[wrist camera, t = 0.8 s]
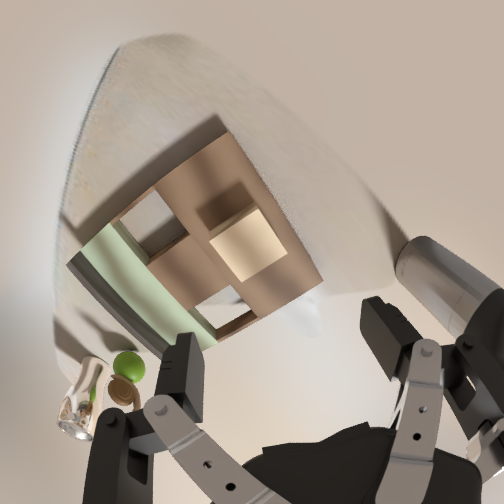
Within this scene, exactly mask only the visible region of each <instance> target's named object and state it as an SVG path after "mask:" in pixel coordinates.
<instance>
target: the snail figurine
mask: <svg viewBox="0 0 504 504" xmlns="http://www.w3.org/2000/svg"><path fill="white" fill-rule="evenodd" d="M113 369H114V373H115V374H114V375H111V377H112V378H113V379H114V380H112V381H110V383H109V385H108V393H109V395H110V397H111V398H112V400H113V401H114V402H116V403H117V404H119V405H122V406H128V405H130V404H131V403H132V402H133V405H134V409H133V411H137V410H140V407H141V403H140V395H139V392H138V389H137V388H136V387H135V385H134V383H136V382H139V381H140V380H141V379H142V378H143V376H144V374H145V364H144V362H143V360H142V359H141V357H140V356H138V355H137V354H136V353H133V352H129V351H126V352H122V353H120V354H119V355H117V357H116V358H115V360H114V363H113Z"/></svg>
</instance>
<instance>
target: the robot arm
mask: <svg viewBox="0 0 504 504" xmlns="http://www.w3.org/2000/svg"><path fill="white" fill-rule="evenodd" d="M396 277H397V279H398V281H399V282H400V283H401V284H402V285H403V286H404V287H405V288H406V289H407V290H408V291H409V292H410V293H411V294H412V295H413V296H414V297H415V298H416V299H417V300H418V301H419V302H420V303H421V304H422V305H423V306H424V307H425V308H426V309H427V310H428V311H429V312H430V313H431V314H432V315H433V316H434V317H435V318H436V319H437V320H438V321H439V322H440V323H441V324H442V325H443V326H444V328H446V330H447V331H448V332H449V333H450V334H451V335H452V336H453V337H454V338H455V339H456V342H455V344H451V345H443V346H440V345H439V344H438V343H437V342H435V341H434V340H431V339H423V337H422V336H421V335H420V334H419V333H418V331H417V330H416V329H415V328H414V327H413V326H412V324H411V323H410V322H409V321H407V318H406V317H405V316H403V314H402V313H401V312H400V310H399V309H398V308H397V307H395V306H393V305H391V304H390V303H387V304H385V303H384V302H383V301H382V299H381V298H380V297H378V296H374V297H370V298H367V299H363V301H362V308H361V318H360V330H361V333H362V336H363V337H364V339H365V340H366V342H367V344H368V346H369V347H370V349H371V350H372V352H373V354H374V355H375V357H376V359H377V360H378V362H379V363H380V365H381V367H382V369H383V370H384V372H385V374H386V375H387V377H388V379H389V380H390V382H392V381H395V380H397V379H399V381H400V382H401V383H400V386H399V390H398V394H397V398H396V402H395V406H394V409H393V413H392V417H391V420H390V422H389V425H388V427H387V428H385V427H370V426H369V424H368V422H364V423H361V424H358V425H355V426H353V427H349V428H346V429H343V430H341V431H339V432H337V433H336V434H334V435H332V436H330V437H328V438H326V439H324V440H323V441H320V442H316V443H286V444H280V445H275V446H269V447H263V448H262V450H263V454H261V455H258V456H256V457H254V458H252V459H251V460H249V461H247V462H246V463H245V464H243V465H242V466H241V465H239V464H238V463H237V462H236V461H235V460H234V459H233V458H232V457H231V456H229V455H228V454H227V453H226V452H225V451H224V450H223V449H222V448H221V447H220V446H219V445H218V444H217V443H216V442H215V441H214V440H213V439H212V438H211V437H210V436H209V435H208V434H207V433H206V432H205V431H203V430H201V429H200V428H199V427H198V426H197V425H196V424H195V423H202V422H203V393H204V369H205V368H204V367H205V365H204V358H203V354H202V352H201V349H200V346H199V343H198V341H197V338H196V335H195V333H194V332H186V333H178V334H177V338H176V343H175V345H169V346H168V347H167V349H166V350H165V351H164V353H163V356H162V360H161V365H160V371H159V375H158V379H157V384H156V390H155V394H154V397H152V398H150V399H149V400H148V401H147V402H146V403H145V405H144V408H142V409H140V410H137V411H133V412H129V413H124V412H123V411H122V410H121V409H119V408H108V409H106V410H104V411H103V412H102V413H101V414H100V415H99V417H98V419H97V423H96V427H95V432H94V436H93V441H92V446H91V451H90V456H89V461H88V468H87V473H86V480H85V487H84V494H83V503H82V504H153V461H154V453H158V452H162V451H165V450H169V452H170V453H171V455H172V456H173V457H174V459H175V460H176V461H177V462H178V463H179V465H180V466H181V467H182V468H183V469H184V471H186V473H187V474H188V475H189V476H190V478H191V479H192V480H193V481H194V482H195V483H196V484H197V485H198V486H199V487H200V489H201V490H202V491H203V492H204V493H205V494H206V495H207V496H208V497H209V498H210V499H211V500H212V502H211V504H481V492H482V484H483V483H484V482H486V481H487V480H488V479H490V478H491V477H492V476H495V475H497V474H499V473H500V472H501V471H502V470H504V289H503V288H501V287H500V286H499V285H498V284H496V283H495V282H494V281H492V280H491V279H490V278H488V277H487V276H485V275H484V274H483V273H481V272H480V271H479V270H477V269H476V268H474V267H473V266H471V265H470V264H469V263H467V262H466V261H464V260H463V259H461V258H460V257H458V256H457V255H455V254H454V253H452V252H451V251H450V250H448V249H446V248H445V247H444V246H442V245H440V244H439V243H437V242H436V241H434V240H432V239H431V238H429V237H427V236H419V237H416V238H414V239H412V240H411V241H410V242H409V243H408V244H407V245H406V246H405V247H404V248H403V250H402V251H401V253H400V255H399V257H398V260H397V263H396ZM467 376H468V377H469V378H470V380H471V381H472V383H473V384H474V386H475V389H476V391H475V390H474V388H473V387H472V386H471V384H470V382H469V381H468V379H467V378H466V377H467ZM443 395H444V396H445V398H446V400H447V402H448V403H449V405H450V407H451V409H452V410H453V412H454V414H455V416H456V418H457V420H458V421H459V423H460V425H461V427H462V429H463V431H464V433H465V435H466V437H467V439H468V440H469V442H468V445H467V454H466V458H467V459H468V460H467V459H464V458H461V457H458V456H456V455H453V454H451V453H448V452H445V451H443V450H440V449H438V448H435V444H436V440H437V433H438V428H439V422H440V416H441V408H442V400H443Z"/></svg>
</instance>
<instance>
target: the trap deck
mask: <svg viewBox="0 0 504 504" xmlns="http://www.w3.org/2000/svg"><path fill="white" fill-rule="evenodd" d="M155 189H156V191H157V192H158V193H159V195H160V196H161V197H162V199H163V200H164V201H165V203H166V204H167V205H168V207H169V208H170V209H171V210H172V212H173V213H174V214H175V216H176V217H177V218H178V220H179V221H180V222H181V223H182V225H183V226H184V227H185V229H186V230H187V231H186V232H185V233H184V234H182V235H181V236H179V237H178V238H177V239H175V240H174V241H172V242H171V243H170V244H168V245H167V246H166V247H164V248H163V249H162V250H160V251H159V252H158V253H156V254H155V255H153V256H152V257H151V258H150V257H149V256H148V255H147V254H146V253H145V251H144V250H143V249H142V248H141V247H140V245H139V244H138V243H137V242H136V241H135V239H134V238H133V237H132V236H131V234H130V233H129V232H128V231H127V229H126V228H125V227H124V226H123V224H122V223H121V222H120V221H119V219H120V218H121V217H122V216H124V215H125V214H126V213H127V212H128V211H129V210H131V209H132V208H133V207H134V206H135V205H136V204H138V203H139V202H140V201H141V200H143V199H144V198H145V197H146V196H147V195H149V194H150V193H151V192H152V191H154V190H155ZM253 202H255V203H256V205H257V206H258V208H259V209H260V211H261V212H262V214H263V215H264V217H265V218H266V220H267V221H268V223H269V224H270V226H271V227H272V229H273V231H274V232H275V234H276V235H277V237H278V238H279V240H280V241H281V243H282V244H283V246H284V248H285V250H286V251H287V253H288V254H286V255H285V256H283V257H281V258H280V259H278V260H277V261H275V262H273V263H272V264H270V265H269V266H267V267H266V268H264V269H262V270H261V271H259V272H258V273H256V274H254V275H253V276H251V277H250V278H248V279H246V280H245V281H243V282H242V283H241V281H240V280H239V279H238V278H237V276H236V275H235V274H234V273H233V271H232V270H231V269H230V268H229V266H228V265H227V264H226V263H225V261H224V260H223V259H222V257H221V256H220V255H219V254H218V252H217V251H216V250H215V248H214V247H213V246H212V245H211V243H210V242H209V234H210V231H211V230H213V229H214V228H216V227H217V226H219V225H220V224H222V223H223V222H224V221H226V220H227V219H229V218H230V217H232V216H233V215H235V214H236V213H238V212H239V211H241V210H243V209H244V208H246V207H247V206H249V205H250V204H252V203H253ZM66 266H67V267H68V268H69V270H70V271H71V272H72V273H73V274H74V276H75V277H76V278H77V279H78V280H79V281H80V282H81V284H82V285H83V286H84V287H85V288H86V289H87V290H88V291H89V292H90V293H91V295H92V296H93V297H94V298H95V299H96V300H97V301H98V302H99V303H100V304H101V305H102V306H103V307H104V308H105V309H106V310H107V311H108V312H109V313H110V314H111V315H112V316H113V317H114V318H115V319H116V320H117V321H118V322H119V323H120V324H121V325H122V326H123V327H124V328H125V329H126V330H127V331H128V332H129V333H131V334H132V335H133V336H134V337H135V338H136V339H137V340H138V341H139V342H141V343H142V344H143V345H144V346H145V347H146V348H147V349H148V350H150V351H151V352H152V353H153V354H154V355H156V356H157V357H158V358H159V359H160V360H162V356H163V353H164V351H165V350H166V349H167V347H168V346H169V345H175V343H176V338H177V334H178V333H186V332H194V333H195V335H196V338H197V341H198V343H199V346H200V349H201V352H202V351H204V350H206V349H208V348H210V347H212V346H213V345H215V344H217V343H219V342H221V341H223V340H225V339H226V338H228V337H230V336H232V335H234V334H235V333H237V332H239V331H241V330H243V329H244V328H246V327H248V326H250V325H251V324H253V323H255V322H257V321H259V320H260V319H262V318H263V317H265V316H267V315H269V314H271V313H272V312H274V311H276V310H277V309H279V308H281V307H282V306H284V305H286V304H287V303H289V302H291V301H292V300H294V299H296V298H297V297H299V296H301V295H302V294H304V293H305V292H307V291H309V290H310V289H312V288H313V287H315V286H317V285H318V284H320V283H321V282H323V279H322V277H321V275H320V274H319V272H318V270H317V268H316V267H315V265H314V263H313V262H312V260H311V258H310V257H309V255H308V253H307V251H306V250H305V248H304V246H303V245H302V243H301V241H300V240H299V238H298V236H297V235H296V233H295V232H294V230H293V228H292V227H291V225H290V223H289V222H288V220H287V219H286V217H285V215H284V214H283V212H282V210H281V209H280V207H279V206H278V204H277V203H276V201H275V199H274V198H273V196H272V195H271V193H270V192H269V190H268V188H267V187H266V185H265V184H264V182H263V181H262V179H261V178H260V176H259V175H258V173H257V172H256V170H255V168H254V167H253V165H252V164H251V162H250V161H249V159H248V158H247V156H246V155H245V153H244V152H243V150H242V149H241V148H240V146H239V145H238V143H237V142H236V140H235V139H234V137H233V136H232V134H231V133H230V131H228V132H227V133H225V134H224V135H222V136H221V137H219V138H218V139H216V140H215V141H213V142H212V143H210V144H209V145H207V146H206V147H204V148H203V149H201V150H200V151H198V152H197V153H196V154H194V155H193V156H191V157H190V158H189V159H187V160H186V161H184V162H183V163H182V164H180V165H179V166H178V167H176V168H175V169H174V170H172V171H171V172H170V173H168V174H167V175H166V176H164V177H163V178H162V179H161V180H159V181H158V182H157V183H155V184H154V185H153V186H152V187H150V188H149V189H148V190H147V191H145V192H144V193H143V194H142V195H141V196H139V197H138V198H137V199H136V200H135V201H133V202H132V203H131V204H130V205H129V206H127V207H126V208H125V209H124V210H123V211H122V212H121V213H119V214H118V215H117V216H116V217H115V218H114V219H113V220H112V221H110V222H109V223H108V224H107V225H106V226H105V227H104V228H103V229H102V230H101V231H100V232H99V233H97V234H96V235H95V236H94V237H93V238H92V239H91V240H90V241H89V242H88V243H87V244H86V245H85V246H84V247H83V248H82V249H81V250H80V251H79V252H78V253H77V254H76V255H75V256H74V257H73V258H72V259H71V260H70V261H69V262H68V263H67V264H66ZM230 284H231V286H232V287H233V288H234V289H235V291H236V292H237V293H238V294H239V295H240V296H241V298H242V299H243V300H244V301H245V302H246V304H247V305H248V306H249V307H250V308H251V310H249V311H248V312H246V313H244V314H243V315H241V316H239V317H237V318H236V319H234V320H232V321H231V322H229V323H227V324H225V325H223V326H222V327H220V328H218V329H215V328H214V327H213V326H212V325H211V324H210V323H209V322H208V321H207V320H206V319H205V318H204V317H203V316H202V315H201V314H200V313H199V312H198V310H197V309H196V308H195V307H194V306H196V305H198V304H199V303H201V302H203V301H204V300H206V299H207V298H209V297H211V296H212V295H214V294H216V293H217V292H219V291H220V290H222V289H224V288H225V287H227V286H228V285H230Z"/></svg>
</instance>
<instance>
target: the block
mask: <svg viewBox="0 0 504 504" xmlns="http://www.w3.org/2000/svg"><path fill="white" fill-rule="evenodd" d="M209 242H210V243H211V245H212V246H213V247H214V248H215V250H216V251H217V252H218V254H219V255H220V256H221V257H222V259H223V260H224V261H225V263H226V264H227V265H228V266H229V268H230V269H231V270H232V271H233V273H234V274H235V275H236V276H237V278H238V279H239V280H240V281H241V283H242V282H243V281H245V280H246V279H248V278H250V277H251V276H253V275H254V274H256V273H258V272H259V271H261V270H262V269H264V268H266V267H267V266H269V265H270V264H272V263H273V262H275V261H277V260H278V259H280V258H281V257H283V256H285V255H286V254H288V253H287V251H286V250H285V248H284V246H283V244H282V243H281V241H280V240H279V238H278V237H277V235H276V234H275V232H274V231H273V229H272V227H271V226H270V224H269V223H268V221H267V220H266V218H265V217H264V215H263V214H262V212H261V211H260V209H259V208H258V206H257V205H256V203H255V202H253V203H252V204H250V205H249V206H247V207H246V208H244V209H243V210H241V211H239V212H238V213H236V214H235V215H233V216H232V217H230V218H229V219H227V220H226V221H224V222H223V223H222V224H220V225H219V226H217V227H216V228H214V229H213V230H211V231H210V234H209Z"/></svg>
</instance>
